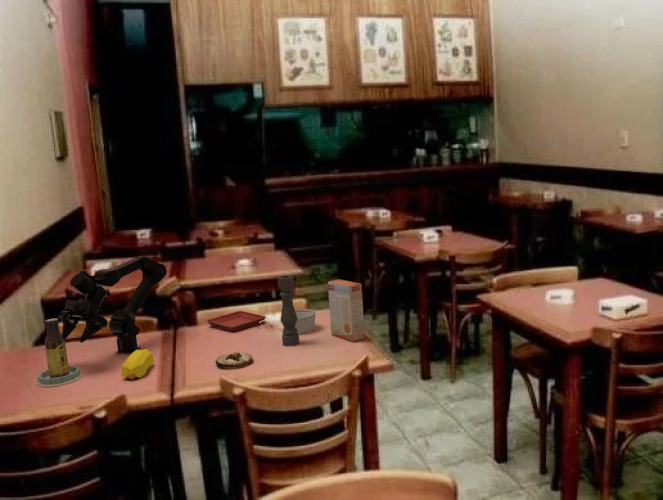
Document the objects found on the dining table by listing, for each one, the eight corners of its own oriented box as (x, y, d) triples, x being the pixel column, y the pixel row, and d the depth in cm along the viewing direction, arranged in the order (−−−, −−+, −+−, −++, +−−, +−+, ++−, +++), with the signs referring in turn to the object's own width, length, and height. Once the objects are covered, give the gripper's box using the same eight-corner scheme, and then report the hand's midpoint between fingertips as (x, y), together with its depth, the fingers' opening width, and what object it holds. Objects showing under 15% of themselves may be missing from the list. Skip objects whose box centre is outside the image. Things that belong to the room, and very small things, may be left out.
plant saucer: (267, 323, 267) (266, 315, 267) (232, 334, 254) (231, 326, 254) (240, 317, 280) (240, 310, 279) (206, 328, 267) (205, 320, 267)
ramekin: (316, 334, 246) (314, 316, 244) (281, 336, 246) (280, 318, 245) (317, 324, 259) (316, 308, 258) (284, 326, 259) (283, 310, 258)
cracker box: (366, 339, 235) (362, 283, 231) (352, 342, 231) (348, 286, 228) (343, 331, 246) (340, 278, 243) (330, 335, 243) (326, 281, 239)
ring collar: (90, 372, 220) (89, 365, 219) (63, 387, 206) (62, 380, 206) (56, 371, 224) (55, 364, 223) (27, 386, 210) (26, 379, 210)
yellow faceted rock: (156, 362, 225) (135, 364, 225) (154, 344, 224) (132, 346, 224) (143, 381, 208) (119, 383, 208) (140, 361, 207) (116, 363, 207)
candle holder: (279, 345, 234) (273, 278, 230) (287, 340, 240) (281, 275, 236) (295, 346, 232) (289, 278, 228) (302, 341, 237) (296, 275, 233)
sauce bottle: (67, 379, 212) (59, 321, 209) (47, 381, 211) (38, 323, 208) (71, 372, 219) (63, 316, 216) (52, 375, 218) (44, 318, 215)
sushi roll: (210, 361, 223) (208, 350, 223) (252, 354, 227) (251, 343, 227) (214, 375, 209) (213, 362, 209) (259, 367, 213) (258, 355, 213)
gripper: (58, 288, 225) (36, 327, 218) (96, 290, 216) (74, 331, 209) (80, 304, 233) (59, 343, 226) (117, 307, 224) (96, 347, 217)
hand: (71, 341), depth 219 cm, fingers open, 9 cm apart
